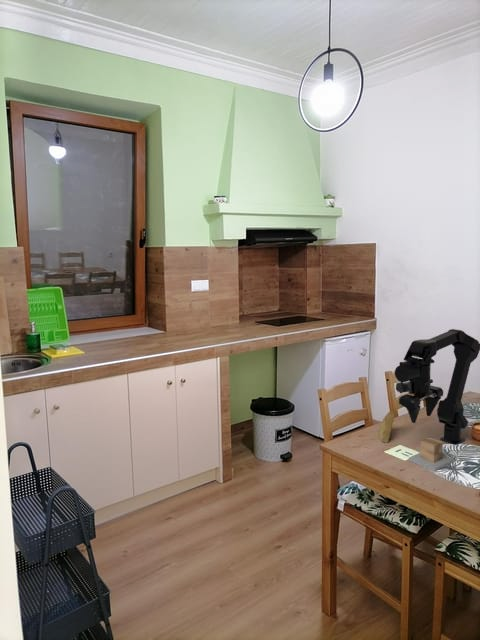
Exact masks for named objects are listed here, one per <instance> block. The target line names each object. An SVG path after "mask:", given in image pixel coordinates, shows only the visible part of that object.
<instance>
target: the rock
mask: <svg viewBox="0 0 480 640" xmlns="http://www.w3.org/2000/svg"><path fill="white" fill-rule="evenodd" d="M395 415H396V414H395V412H393V411H388V412H387V413H386V415H385V416H384V417H383V419H382V420H381V422H380V424H379V430H378V437H379V438H380V439H381V440H380V441H381V442H382V443H383V442H384V443H389V441H390V438H391V437H390V436H391V432H392V429H393V423H394V419H395Z"/></svg>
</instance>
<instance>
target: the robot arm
mask: <svg viewBox="0 0 480 640" xmlns="http://www.w3.org/2000/svg"><path fill="white" fill-rule="evenodd" d="M451 345H452V347H453V355H454V356H455V357H454V358H455V363H454V367H453V371H452V375H451V380H450V384H449V387H448V390H447V395H446V397H445V398H444V399H443V400H441V398H442V397H443V396H444V390H443V389H442V388H443V387H440V386H435V385H432V383H434V379H431V364H434V363H435V360H434V359H433V357H435V356H437V352H438V351H439V350H442V349H444V348H446V347H449V346H451ZM479 353H480V342H479V340H477V339H476V338H475V337H472V336H471V335H468V334H467V333H466V332H465V331H464V330H462V329H456V328H452V329H449V330H448V331H444V332H443V333H441V334H439V335H436V336H433V337H431V338H429V339H417V340H415V339H414V340H413V341H412V342H411V344H410V346H409V347H408V349H407V352H406V354H405V356H404V357H403V361H400V362H399V364H398V366H396V368H395V370H394V376H395V378H396V380H397V381H398V382H396V384H395V390H396V391H397V393H399V394H403V393H407V394H403V395H401V396H400V397H398V404H399V405H401V406H402V407H404V408H406V410H407V412H408V416H409V418H410V421H411V423H413V424H416V422H417V420H418V416H419V413H420V411H421V407H422V406H421V402H422V401H421V400H423V399H424V401H425V402H424V403H425V411H426V416H427V417H430V416H431V415H432V413H433V411H434V410H435V408H436V406H437V404H438V407H437V409H436V416H437V418H438V421H439V423H441V424H443V426H444V427H443V436H442V437H440V438H439V439H440V440H441V441H442V442H443V441H444V442H446V443H449V444H452V445H455V446H456V445H459V444H460V443H463V442H465V441H466V438H462V430H464V429H466V428H467V427H468V424H469V421H468V419H467V418H466V417H465V416H464V411H465V408H464V405H463V403H462V402H463V401H462V398H463V394H464V391H465V387H466V383H467V379H468V375H469V371H470V367H471V364H472V363H473V362H474V361H475V360H476V359H477V358H478V356H479ZM440 440H439V441H440Z"/></svg>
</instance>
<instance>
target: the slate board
mask: <svg viewBox="0 0 480 640" xmlns="http://www.w3.org/2000/svg"><path fill="white" fill-rule="evenodd" d="M419 452H420V453H418V454H416V455H414V456H411V457H409V459H408V461H409V462H411V463H414V464H416V465H419V466H421V467H424V468H425V469H429V470H431V471H432V472H436V471H439V470H441V469H442V468H445V467H446V466H449V465H450V464H452V463H455V458H454V457H450V456H448V455H446V454H442V459H441V460H439V461H437V462H435V463H432V462H430V461H427V460H425V459H422V458H420V457H421V451H419Z"/></svg>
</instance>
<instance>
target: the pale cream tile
mask: <svg viewBox="0 0 480 640" xmlns="http://www.w3.org/2000/svg"><path fill="white" fill-rule="evenodd" d="M420 452H421V451H417V450H415V449H411V448H410V447H407V446H405V445H401V444H399V445H395V446H394V447H391V448H389V449H387V450H384V453H386V454H388V455H390V456H393V457H396V458H398V459H399V460H402V461H405V462H406V461H409V457H411V456H414V455H416V454H418V453H420Z"/></svg>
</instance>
